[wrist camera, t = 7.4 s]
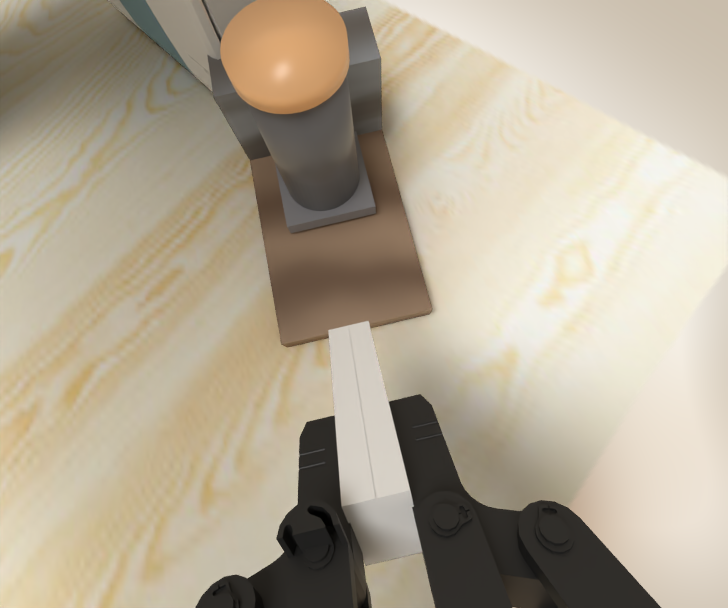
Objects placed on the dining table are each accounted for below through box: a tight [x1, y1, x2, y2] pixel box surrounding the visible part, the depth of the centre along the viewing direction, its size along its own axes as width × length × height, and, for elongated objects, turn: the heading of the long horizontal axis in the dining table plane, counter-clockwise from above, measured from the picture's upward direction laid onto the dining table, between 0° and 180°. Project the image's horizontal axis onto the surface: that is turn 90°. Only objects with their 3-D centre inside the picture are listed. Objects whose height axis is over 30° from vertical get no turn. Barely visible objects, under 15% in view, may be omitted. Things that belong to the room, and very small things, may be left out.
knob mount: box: [207, 7, 432, 347], centre depth 24 cm, size 18×10×8 cm, turn 13°
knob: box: [220, 0, 376, 233], centre depth 21 cm, size 6×6×11 cm
